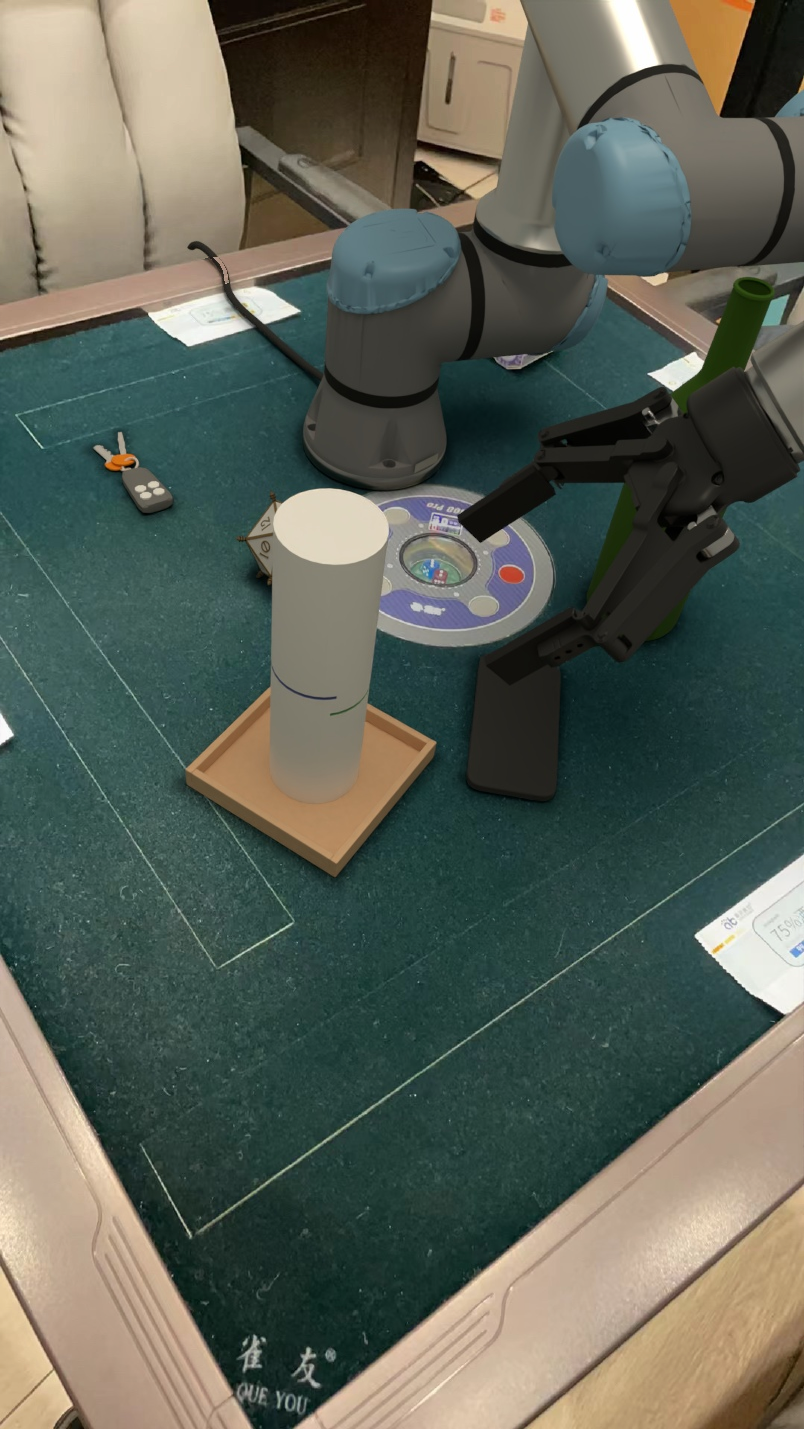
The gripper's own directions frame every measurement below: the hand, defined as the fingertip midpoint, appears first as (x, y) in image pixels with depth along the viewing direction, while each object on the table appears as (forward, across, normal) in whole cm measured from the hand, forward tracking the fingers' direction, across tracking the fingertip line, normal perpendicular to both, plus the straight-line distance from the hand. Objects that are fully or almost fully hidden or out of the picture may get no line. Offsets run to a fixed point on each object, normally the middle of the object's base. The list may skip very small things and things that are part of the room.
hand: (481, 596), depth 71 cm
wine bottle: (-1, +19, -28) cm, 34 cm away
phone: (+9, +4, -19) cm, 21 cm away
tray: (+21, 0, -6) cm, 22 cm away
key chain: (+33, +37, +5) cm, 50 cm away
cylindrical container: (+21, 0, -6) cm, 22 cm away
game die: (+22, +22, -6) cm, 32 cm away
